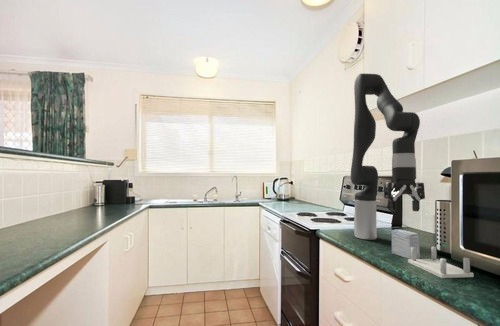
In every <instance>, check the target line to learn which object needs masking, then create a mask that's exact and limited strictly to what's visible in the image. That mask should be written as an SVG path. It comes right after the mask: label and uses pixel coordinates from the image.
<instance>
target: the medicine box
mask: <svg viewBox="0 0 500 326" xmlns="http://www.w3.org/2000/svg"><path fill="white" fill-rule="evenodd" d="M390 232H391V254H394V255H397V256H399V257H403V258H404V259H407V260H408V259H411V247H415V248H416V259H421V258H420V256H421V255H420V254H421V253H420V235H419V233H418V232H417V233H416V232H412V231H409V230H405V229H401V228H399V229H392V230H391V231H390Z"/></svg>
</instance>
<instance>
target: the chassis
mask: <svg viewBox="0 0 500 326" xmlns="http://www.w3.org/2000/svg"><path fill="white" fill-rule="evenodd" d="M430 247H431V248H430V251H431V253H430V256H431V258H419V259H416V248H415V247H411V259H407V263H409V264H410V265H413V266H415V267H418V268H419V269H422V270H424V271H426V272H427V273H430V274H432V275H434V276H437V277H438V278H440V279H449V278H450V279H454V278H456V279H457V278H458V279H460V278H474V272H471V262H470V261H471V260H470V258H468V257H463V258H462V261H463V264H462V265H463V269H462V268H460V267H458V266H455V265H453V264H451V263H448V262H447V259H446V258H444V257H443V258H437V247H436V246H430Z"/></svg>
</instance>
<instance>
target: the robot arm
mask: <svg viewBox="0 0 500 326" xmlns="http://www.w3.org/2000/svg"><path fill="white" fill-rule="evenodd" d="M353 90H354V92H353V94H354V122H353V123H354V124H353V126H354V127H353V148H352V149H353V152H352V159H351V167H350V181H351V183H352V185H354V186H364V189H362V190H361V191H358V192H356V193H355V194H354V216H353V219H354V220H353V224H354V225H353V228H354V229H353V233H354V234H353V235H354V237H356V238H358V239H362V240H377V238H378V237H377V236H378V235H377V196H378V187H379V186H378V185H379V183H378V182H379V180H378V179H379V173H378V170H377V169H378V168H376V167H375V166H373V165H363V164H364V163H363V161H364V157H365V155H366V153H367V151H368V150H369V148H370V147H371V145H372V144H373V143H374V141H375V139H376V131H377V130H376V129H377V122H376V120H375V118H374V116H373V114H372V112H371V110H370V109H369V107H368V104H367V99H366V98H367V96H366V95H368V96H369V95H370V96H372V95H374V96H376V97H377V99H376V107H377V109H378V111H379V112H381V114H382V116H383V117H384V122H385V125H386V127H387V128H388V129H389V130H390V131H392V132H403V135H402V136H401V137H397V138H394V139H393V140H392V148H391V149H392V158H391V177H392V182H390V181H386V182H384V184H383V186H384V187H383V188H384V189H383V198H384V199H386V200H388V201H389V209H390V211H391V212H394V213H395V212H397V211H398V210H397V209H398V208H397V204H398V203H397V199H398V197H400V196H401V195H408V196H409V197H410V198H411V199H412V201H411V202H412V207H411V208H412V211H413V212H419V211H420V208H421V207H420V206H421V205H420V204H421V203H420V201H421V200H425V199H426V195H425V194H426V193H425V183H424V182H416V179H417V159H416V146H415V143H416V139H417V135H418V132H419V128H420V125H421V119H420V116H419V115H418V114H417V113H416V112H413V111H410V112H407V111H404V106H403V105H402V103H400V101H399V100H397V98H396V97H394V96H395V95H393V94H392V93H391V91H390V89H389V87H388V85H387V83H386V81H385V80H384V78H383V77H382V76H381V74H378V73H359V74H358V75H357V76H356V78H355V79H354V88H353ZM392 189H393V190H392Z"/></svg>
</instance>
